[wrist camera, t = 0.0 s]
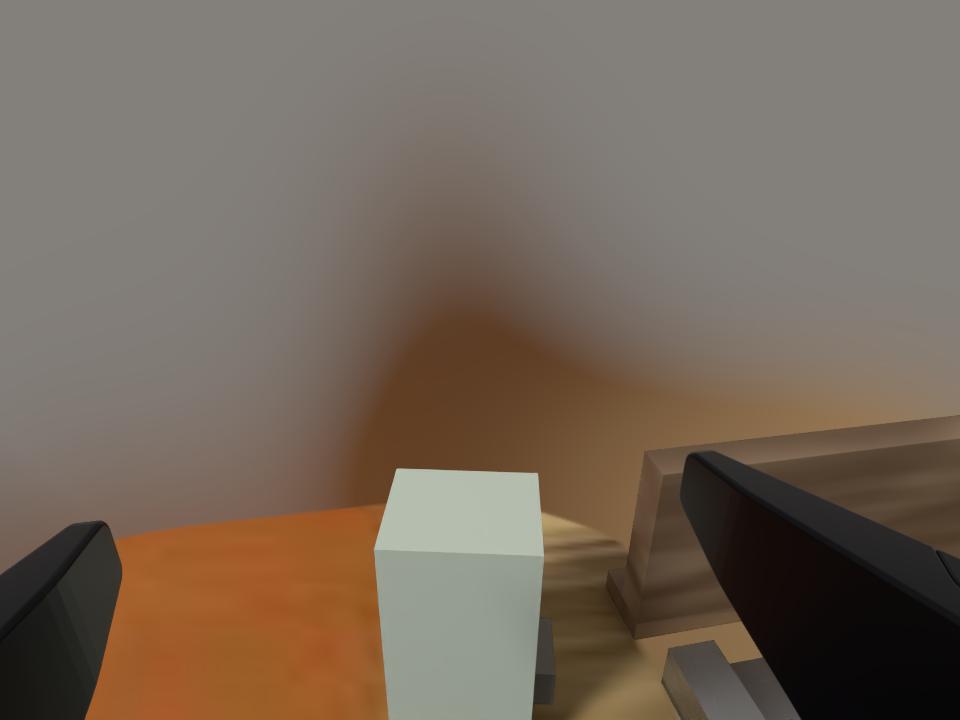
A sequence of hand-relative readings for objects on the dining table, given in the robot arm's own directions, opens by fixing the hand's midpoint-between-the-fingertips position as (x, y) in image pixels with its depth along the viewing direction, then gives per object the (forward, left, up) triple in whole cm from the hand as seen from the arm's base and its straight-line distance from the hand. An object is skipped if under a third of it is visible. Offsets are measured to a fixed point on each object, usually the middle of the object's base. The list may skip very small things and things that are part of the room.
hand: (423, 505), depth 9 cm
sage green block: (+8, -2, -17) cm, 18 cm away
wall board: (+10, -19, -16) cm, 27 cm away
